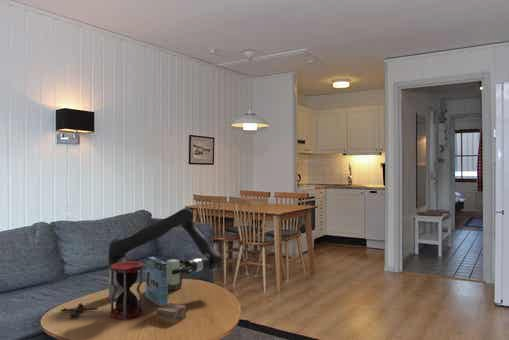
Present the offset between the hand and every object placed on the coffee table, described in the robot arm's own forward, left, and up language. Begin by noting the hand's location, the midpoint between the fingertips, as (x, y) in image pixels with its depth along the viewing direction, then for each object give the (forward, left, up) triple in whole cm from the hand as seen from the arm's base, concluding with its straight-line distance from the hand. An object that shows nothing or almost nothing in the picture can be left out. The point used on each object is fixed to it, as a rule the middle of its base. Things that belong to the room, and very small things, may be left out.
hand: (169, 271), depth 217 cm
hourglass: (-21, 0, -20) cm, 29 cm away
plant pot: (+8, +37, -20) cm, 43 cm away
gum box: (-4, +15, -20) cm, 26 cm away
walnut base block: (-1, -15, -20) cm, 25 cm away
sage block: (+2, +1, -7) cm, 7 cm away
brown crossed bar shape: (-44, +9, -20) cm, 50 cm away
